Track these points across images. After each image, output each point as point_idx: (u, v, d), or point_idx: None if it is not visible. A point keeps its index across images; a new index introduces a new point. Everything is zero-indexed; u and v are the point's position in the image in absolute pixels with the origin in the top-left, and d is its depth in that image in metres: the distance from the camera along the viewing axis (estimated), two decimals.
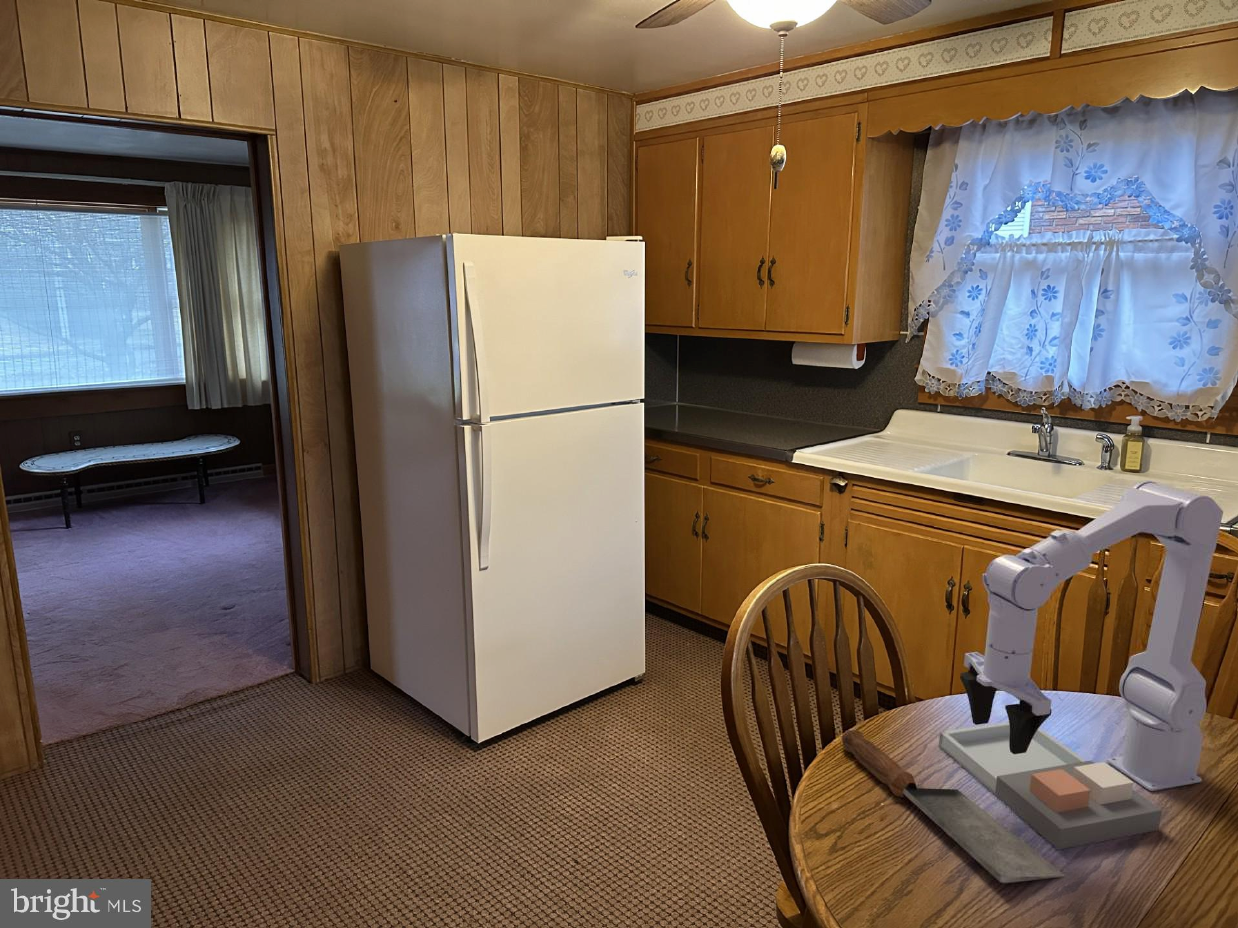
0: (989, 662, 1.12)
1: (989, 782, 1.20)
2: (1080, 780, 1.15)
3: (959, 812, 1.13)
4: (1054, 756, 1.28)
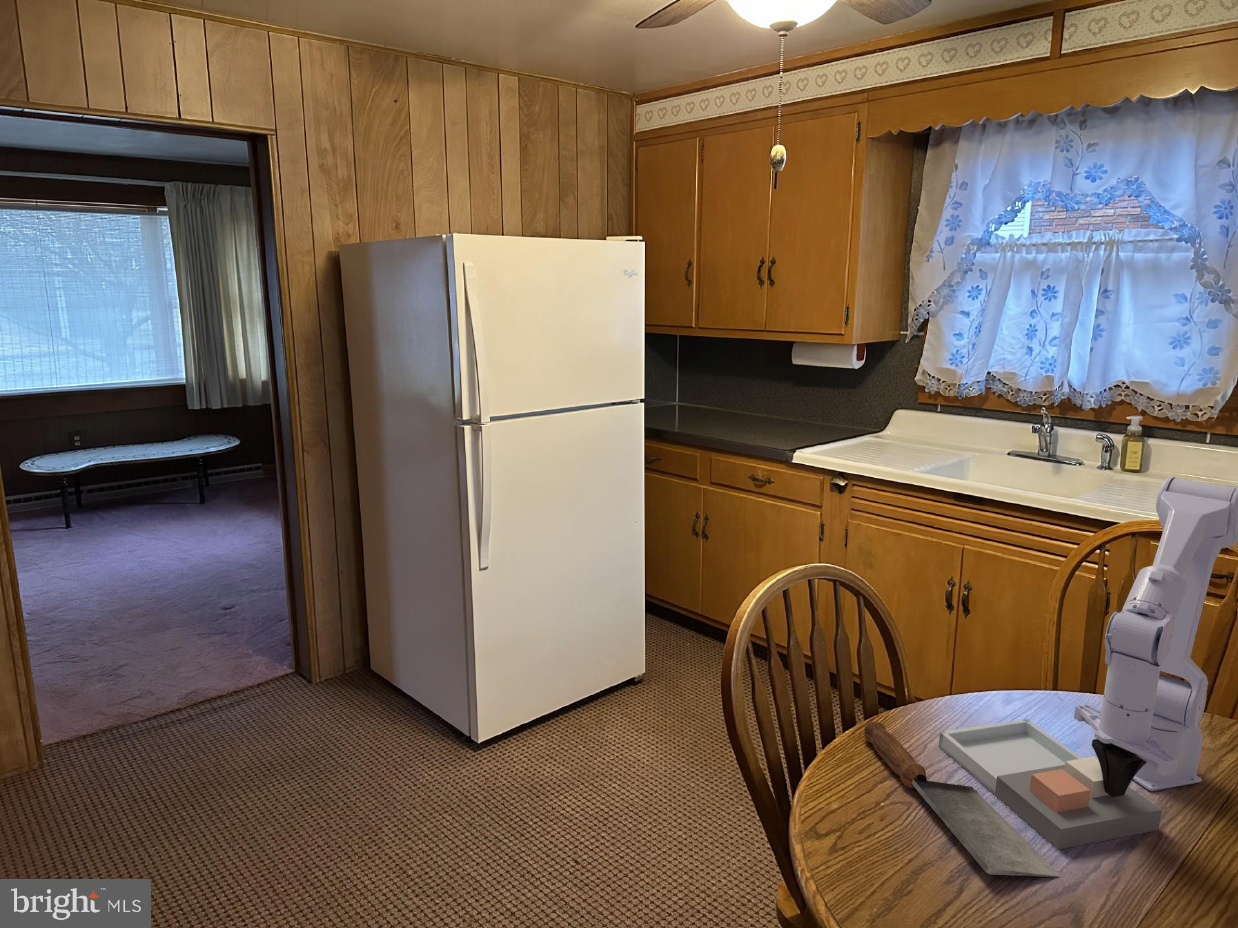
0: (1109, 719, 1.10)
1: (989, 782, 1.20)
2: (1071, 774, 1.17)
3: (964, 807, 1.14)
4: (1054, 756, 1.28)
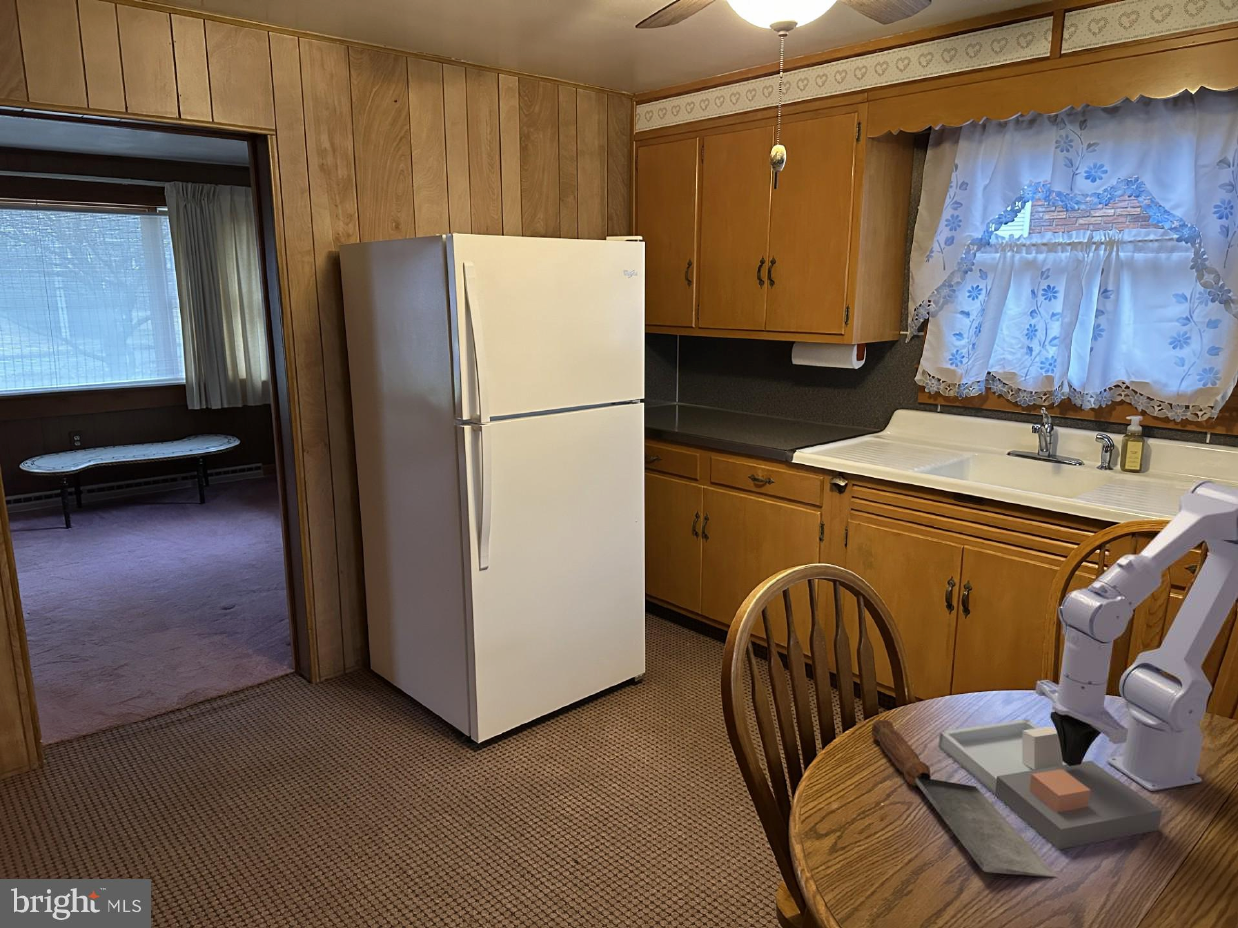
0: (1065, 692, 1.17)
1: (989, 782, 1.20)
2: (1028, 757, 1.25)
3: (967, 806, 1.15)
4: None
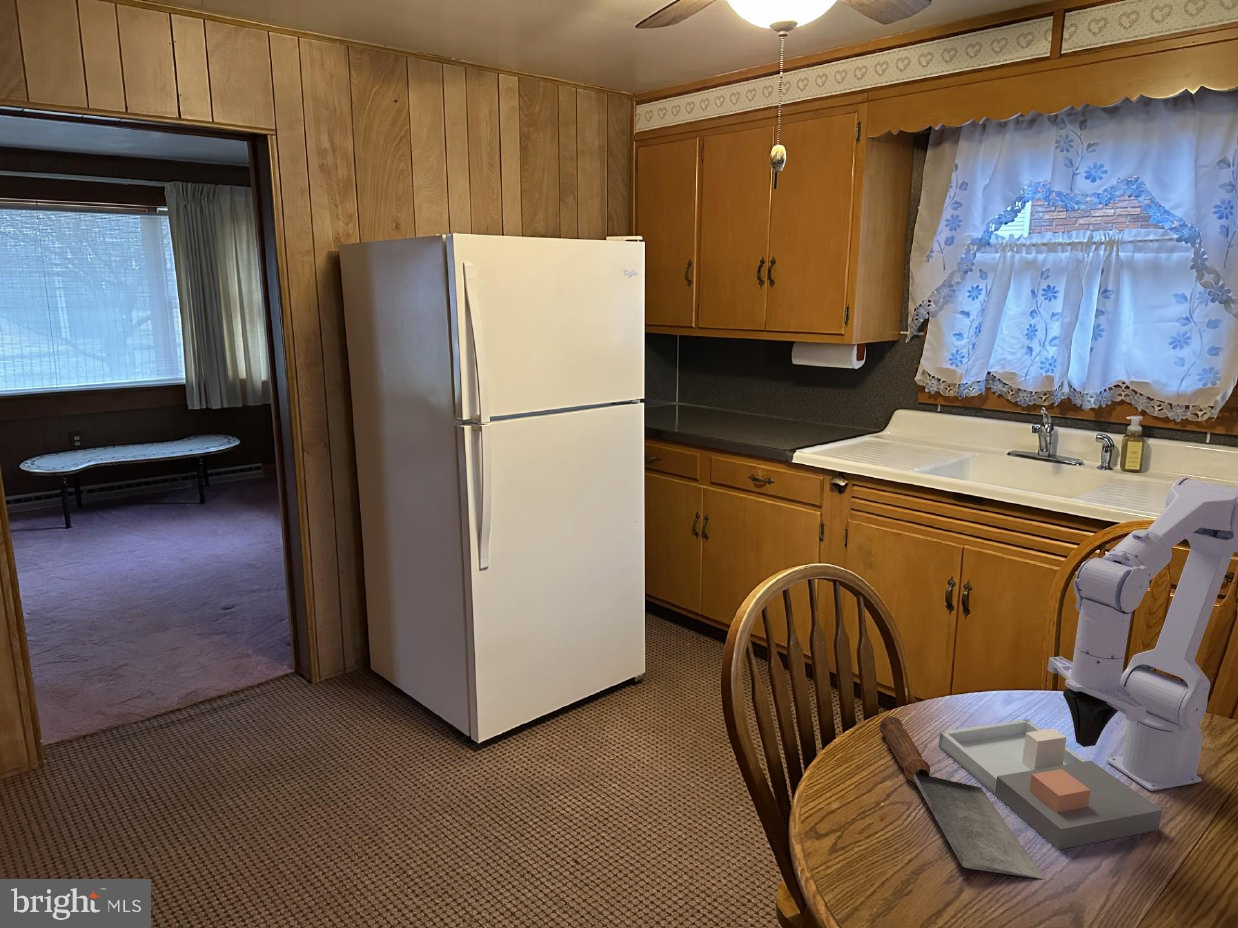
0: (1079, 667, 1.10)
1: (989, 782, 1.20)
2: (1029, 759, 1.25)
3: (961, 804, 1.15)
4: None
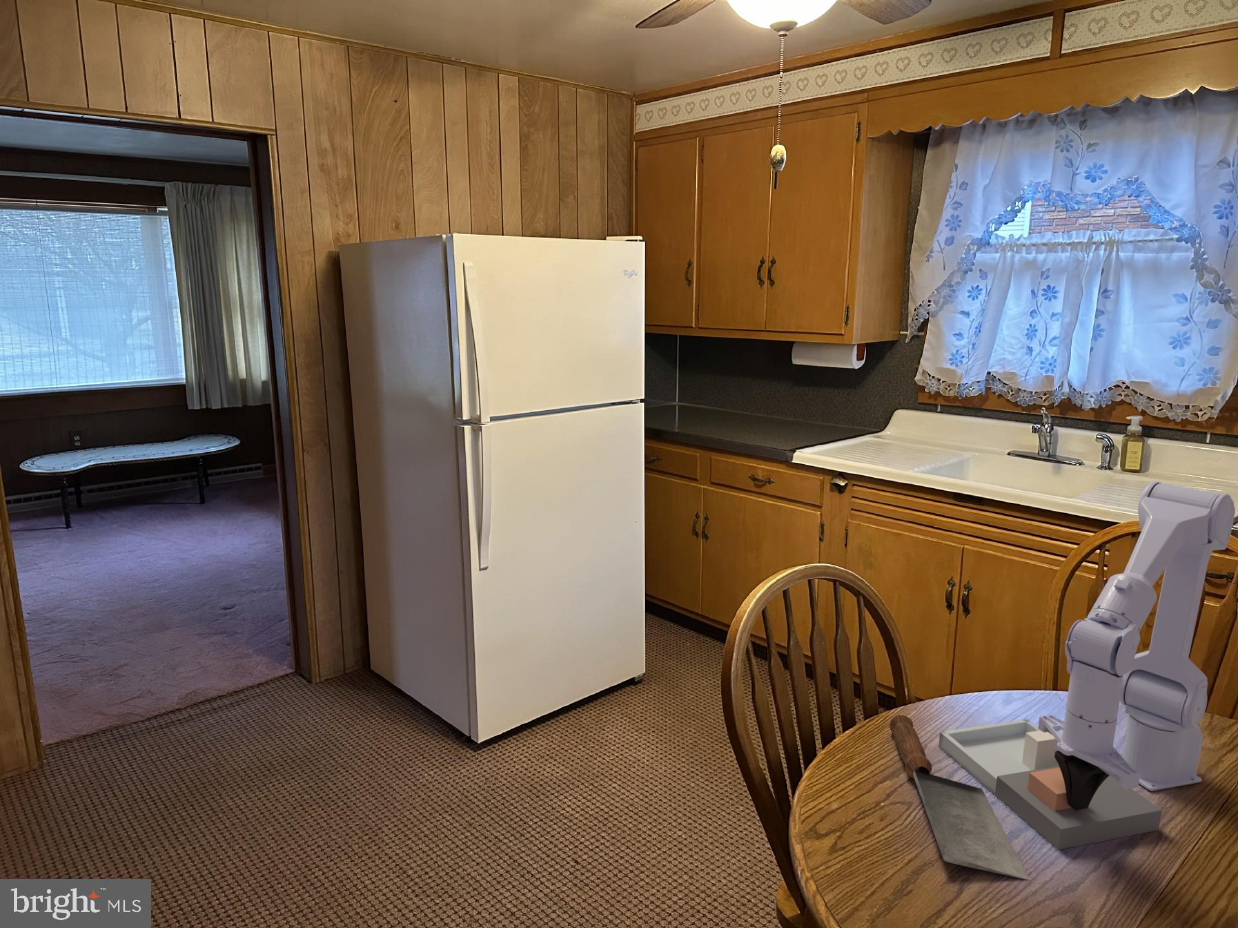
0: (1071, 730, 1.07)
1: (989, 782, 1.20)
2: (1029, 759, 1.25)
3: (957, 803, 1.15)
4: None
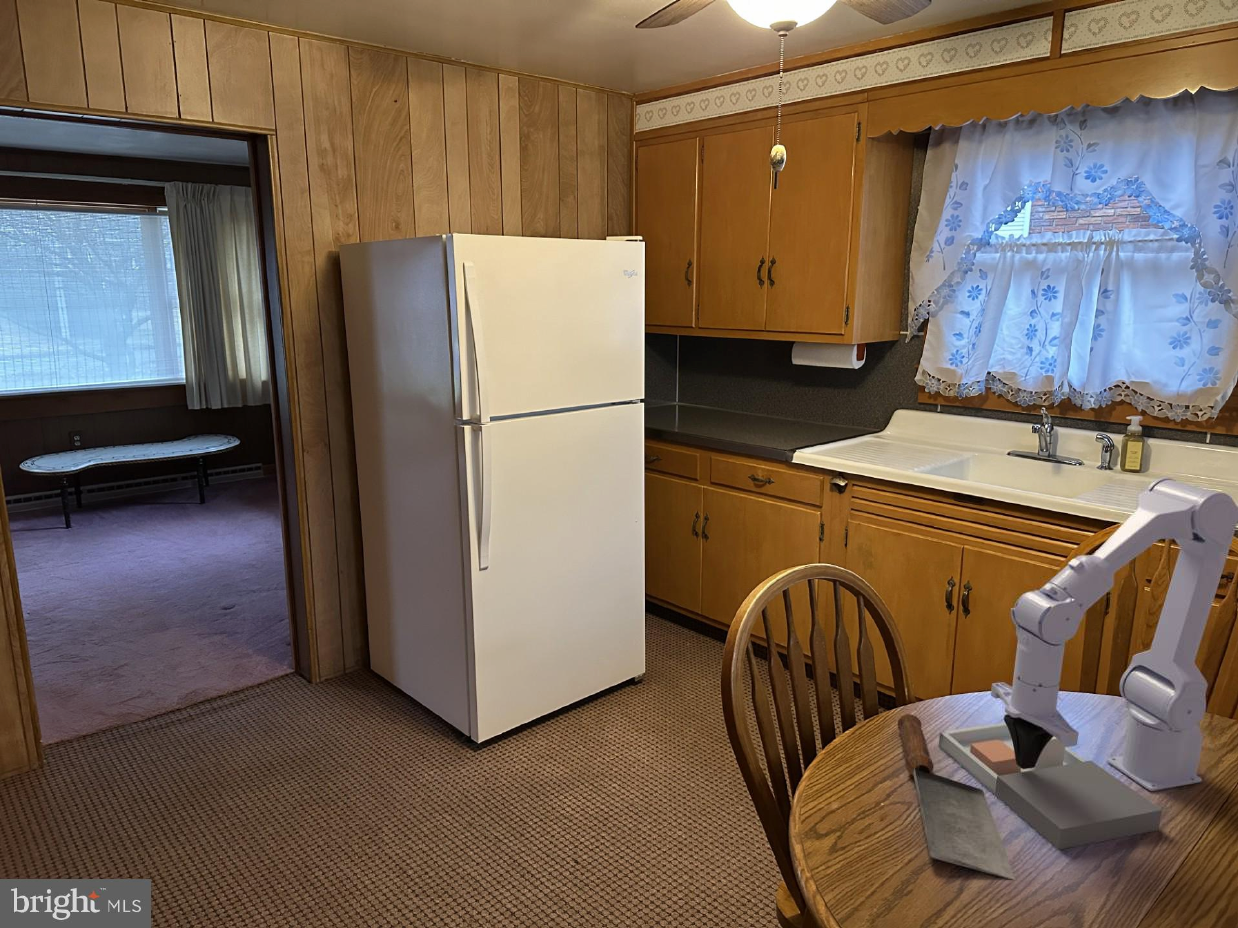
0: (1017, 694, 1.16)
1: (989, 782, 1.20)
2: None
3: (954, 802, 1.15)
4: None
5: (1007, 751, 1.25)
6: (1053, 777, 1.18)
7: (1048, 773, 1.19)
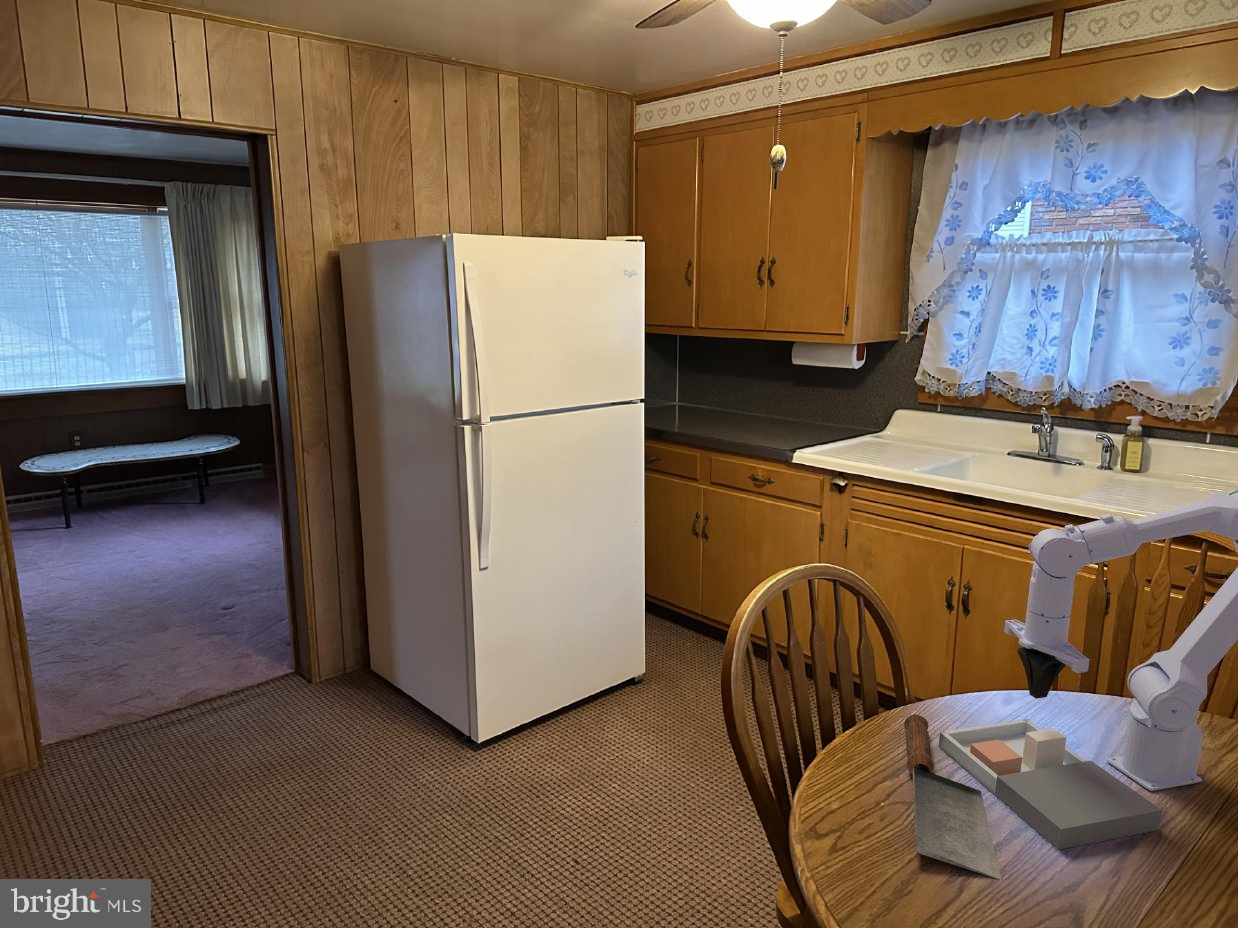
0: (1031, 627, 1.23)
1: (989, 782, 1.20)
2: (1029, 759, 1.25)
3: (950, 801, 1.16)
4: None
5: (1007, 751, 1.25)
6: (1053, 777, 1.18)
7: (1048, 773, 1.19)
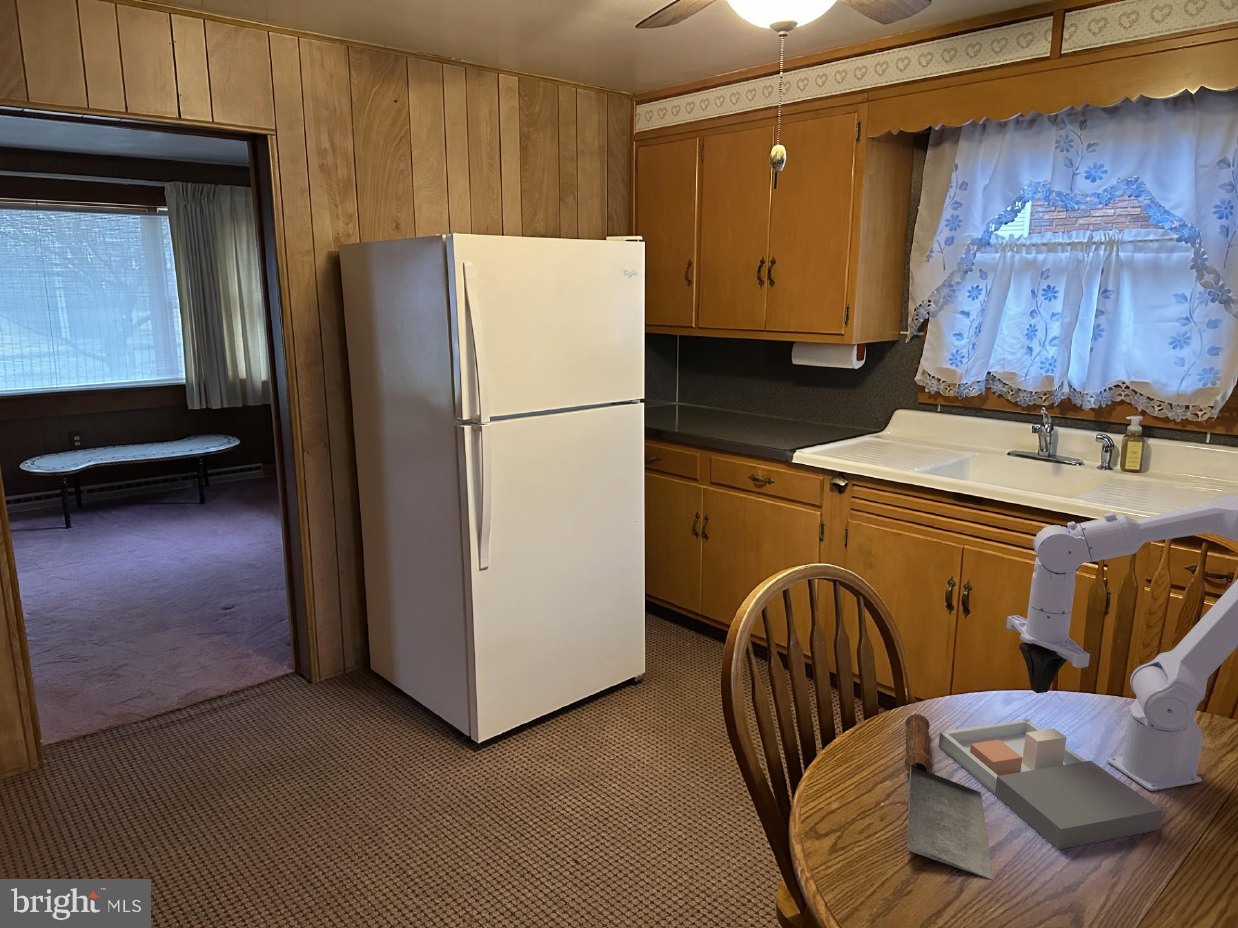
0: (1032, 622, 1.24)
1: (989, 782, 1.20)
2: (1029, 759, 1.25)
3: (945, 801, 1.16)
4: None
5: (1007, 751, 1.25)
6: (1053, 777, 1.18)
7: (1048, 773, 1.19)
